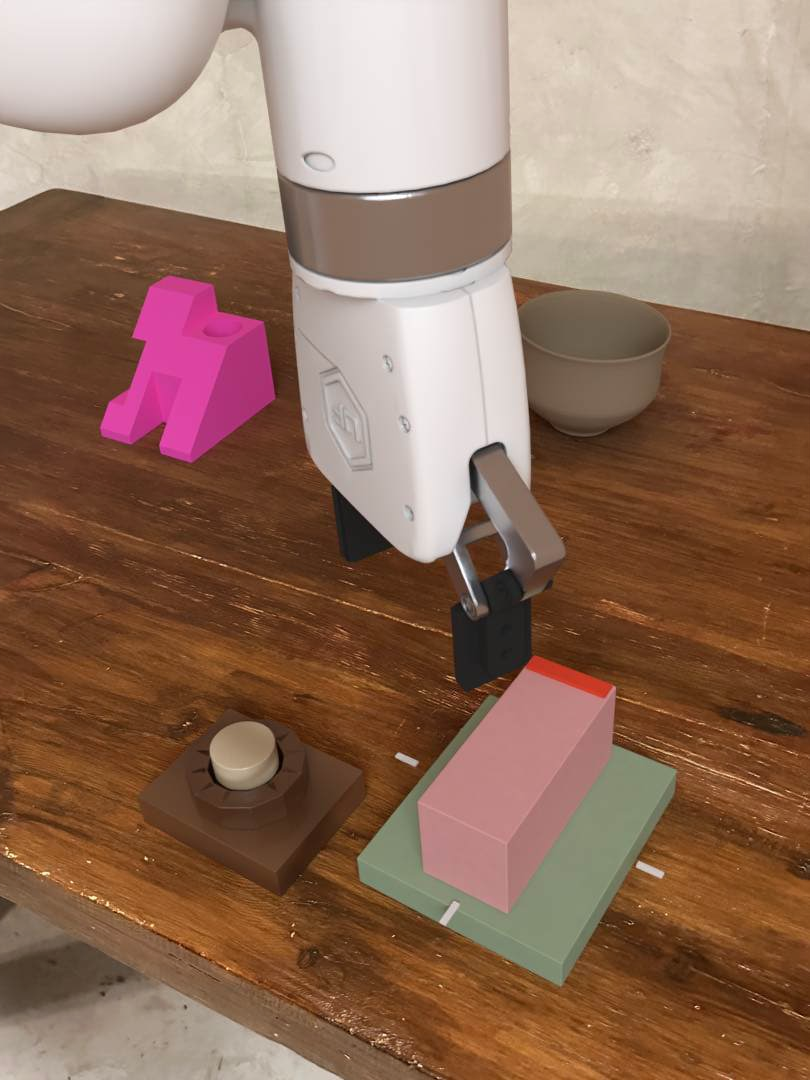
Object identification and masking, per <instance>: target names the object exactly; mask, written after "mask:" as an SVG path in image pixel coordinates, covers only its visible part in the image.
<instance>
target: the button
mask: <svg viewBox="0 0 810 1080" xmlns="http://www.w3.org/2000/svg"><path fill="white" fill-rule="evenodd" d="M210 757H211V761H212V765H213V769H214V773H215V777H216V779H217V780H218V781H219V783H220V784H222V785H223V786H224V787H226V788H228V789H231V790H236V791H247V790H252V789H255V788H258V787H260V786H262V785H264V784H266V783H267V782H268V781H269V780H270V779H272V777H273V776H274V775H275V773H276V771H277V769H278V766H279V757H278V752H277V747H276V741H275V737H274V734H273V733H272V731H271V730H270V729H269V728H268V727H267V726H265V725H263V724H261V723H258V722H252V721H243V722H237V723H234V724H231V725H229V726H227V727H225V728H223V729H222V730H220V731H219V732H218V733H217V734H216V735H215V737H214V738H213V740H212V742H211V744H210Z"/></svg>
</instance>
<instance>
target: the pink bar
mask: <svg viewBox="0 0 810 1080" xmlns="http://www.w3.org/2000/svg"><path fill="white" fill-rule="evenodd" d="M616 692H617V686H615V685H613V684H612V683H610V682H607V681H604V680H602V679H599V678H596V677H594V676H592V675H588V674H586V673H583V672H580V671H578V670H575V669H572V668H571V667H568V666H566V665H565V666H564V665H562V664H559V663H557V662H554V661H551V660H549V659H546V658H543V657H542V656H541V657H540V656H538V655H536V654H534V655H532V657H531V659H530V661H529V662H528V663H527V664H526V665H524V666H523V668H522V670H521V671H520V672H519V673H518V675H517V676H516V677H515V679H514V680H513V681H512V682H511V683H510V685H509V686H508V687H507V689H506V690H505V691H504V692H503V693H502V695H501V696H500V697H499V698H500V699H499V700H498V701H497V702H496V704H495V705H494V706H493V707H492V709H491V710H490V711H489V712H488V714H487V715H486V716H485V717H484V719H483V720H482V721H481V722H480V724H479V725H478V726H477V727H476V729H475V730H474V731H473V732H472V734H471V735H470V736H469V737H468V739H467V740H466V741H465V742H464V744H463V745H462V746H461V747H460V749H459V750H458V751H457V752H456V754H455V755H454V756H453V757H452V759H451V760H450V761H449V762H448V764H447V765H446V766H445V767H444V769H443V770H442V771H441V772H440V774H439V775H438V776H437V777H436V779H435V780H434V781H433V782H432V784H431V785H430V786H429V787H428V789H427V790H426V791H425V792H424V794H423V795H422V796H421V797H420V799H419V800H418V802H417V804H418V816H419V827H420V839H421V851H422V863H423V871H424V872H425V873H427V874H429V875H431V876H433V877H435V878H437V879H439V880H441V881H443V882H445V883H447V884H449V885H451V886H453V887H455V888H457V889H459V890H461V891H463V892H465V893H467V894H469V895H471V896H472V897H474V898H476V899H478V900H480V901H482V902H484V903H486V904H488V905H490V906H492V907H494V908H496V909H498V910H500V911H502V912H504V913H506V914H508V913H509V911H510V910H511V908H512V907H513V905H514V904H515V902H516V901H517V899H518V898H519V896H520V895H521V893H522V892H523V890H524V889H525V887H526V886H527V884H528V883H529V881H530V880H531V878H532V876H533V875H534V873H535V872H536V870H537V869H538V867H539V866H540V864H541V863H542V861H543V860H544V858H545V857H546V855H547V854H548V852H549V851H550V849H551V848H552V846H553V845H554V843H555V842H556V840H557V839H558V837H559V836H560V834H561V832H562V831H563V829H564V828H565V826H566V825H567V823H568V822H569V820H570V819H571V817H572V816H573V814H574V813H575V811H576V810H577V808H578V807H579V805H580V804H581V802H582V801H583V799H584V798H585V796H586V795H587V793H588V792H589V790H590V788H591V787H592V785H593V784H594V782H595V781H596V779H597V778H598V776H599V775H600V773H601V772H602V770H603V769H604V767H605V766H606V764H607V763H608V761H609V760H610V758H611V754H612V744H613V740H614V739H613V737H614V725H615V724H614V723H615V707H616V694H617V693H616Z"/></svg>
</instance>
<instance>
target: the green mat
mask: <svg viewBox="0 0 810 1080" xmlns="http://www.w3.org/2000/svg"><path fill="white" fill-rule="evenodd" d="M499 699H500V697H497V696H496V695H493V694H489V695H488V696H487V697H486V698H485V699H484V701H483V702H482V703H481V704H480V706H479V707H478V708H477V709H476V710H475V712H474V713H473V714H472V715H471V717H470V718H469V719H468V721H467V722H466V723H465V724H464V725H463V727H461V728H460V730H459V731H458V733H457V734H456V735H455V736H454V737H453V739H452V740H451V741H450V742H449V744H448V745H447V747H446V748H444V750H443V751H442V752H441V754H440V755H439V756H438V757H437V758H436V760H434V762H433V763H432V765H431V766H430V767H429V768H428V770H426V772H425V773H424V774H423V776H422V777H421V778H420V780H419V781H418V782H417V784H416V785H415V786H414V787H413V788H412V789H411V790H410V792H409V793H408V794H407V795H406V796H405V798H404V800H402V802H401V803H400V804H399V805H398V806H397V808H396V809H395V810H394V812H392V814H391V815H390V817H388V819H387V820H386V821H385V823H383V825H382V826H381V827H380V829H379V830H378V831H377V832H376V833H375V835H374V836H373V837H372V838H371V840H370V841H369V842H368V844H366V846H365V847H364V849H363V850H361V852H360V853H359V855H358V856H357V857H356V863H357V870H358V876H359V881H360V883H363V884H364V885H366V886H368V887H369V888H372V889H374V890H376V891H378V892H380V893H381V894H383V895H386V896H387V897H389V898H390V899H393V900H395V901H397V902H398V903H400V904H402V905H404V906H406V907H408V908H410V909H412V910H413V911H416V912H417V913H419V914H421V915H423V916H425V917H427V918H429V919H431V920H433V921H434V922H436V923H439V924H441V925H442V926H444V927H446V928H448V929H450V930H452V931H453V932H456V933H458V934H459V935H461V936H463V937H465V938H467V939H469V940H470V941H472V942H475V943H476V944H478V945H480V946H481V947H484V948H486V949H487V950H489V951H492V952H494V953H495V954H497V955H499V956H501V957H503V958H504V959H507V960H508V961H510V962H512V963H515V964H516V965H518V966H519V967H522V968H523V969H526V970H528V971H529V972H532V973H533V974H535V975H537V976H539V977H540V978H543V979H544V980H547V981H548V982H550V983H552V984H554V985H556V986H558V987H560V988H562V987H563V985H564V983H565V981H566V980H567V978H568V977H569V975H570V973H571V971H572V970H573V969H574V966H575V964H576V963H577V961H578V960H579V958H580V956H581V955H582V953H583V951H584V950H585V947H586V946H587V944H588V943H589V941H590V939H591V937H592V935H594V932H595V930H596V929H597V927H598V925H599V923H600V922H601V920H602V918H603V917H604V915H605V913H606V912H607V910H608V908H609V907H610V905H611V903H612V901H613V899H614V898H615V896H616V895H617V893H618V891H619V889H620V888H621V886H622V884H623V883H624V882H625V879H626V878H627V876H628V874H629V873H630V870H631V869H632V867H633V865H634V864H635V862H636V861H637V859H638V857H639V855H640V853H641V852H642V850H643V848H644V847H645V845H646V843H647V841H648V840H649V838H650V837H651V836H652V835H651V834H652V833H653V831H654V830H655V828H656V825H657V824H658V823H659V821H660V820H661V817H662V816H663V814H664V813H665V811H666V809H667V808H668V805H669V804H670V802H671V801H672V799H673V797H674V795H675V790H676V783H677V776H678V775H677V774H678V770H677V768H673V767H671V766H668V765H666V764H664V763H661V762H658V761H656V760H653V759H651V758H649V757H646V756H644V755H641V754H638V753H636V752H633V751H631V750H629V749H626V748H624V747H621V746H619V745H617V744H614V743H612V754H611V758H610V760H609V761H608V763H607V764H606V766H605V767H604V769H603V770H602V772H601V773H600V775H599V776H598V778H597V779H596V781H595V782H594V784H593V785H592V787H591V788H590V790H589V792H588V793H587V795H586V796H585V798H584V799H583V801H582V802H581V804H580V805H579V807H578V808H577V810H576V811H575V813H574V814H573V816H572V817H571V819H570V820H569V822H568V823H567V825H566V826H565V828H564V829H563V831H562V832H561V834H560V836H559V837H558V839H557V840H556V842H555V843H554V845H553V846H552V848H551V849H550V851H549V852H548V854H547V855H546V857H545V858H544V860H543V861H542V863H541V864H540V866H539V867H538V869H537V870H536V872H535V873H534V875H533V876H532V878H531V880H530V881H529V883H528V884H527V886H526V887H525V889H524V890H523V892H522V893H521V895H520V896H519V898H518V899H517V901H516V902H515V904H514V905H513V907H512V908H511V910H510V911H509V913H508V914H506V913H504V912H502V911H500V910H498V909H496V908H494V907H492V906H490V905H488V904H486V903H484V902H482V901H480V900H478V899H476V898H474V897H472V896H471V895H469V894H467V893H465V892H463V891H461V890H459V889H457V888H455V887H453V886H451V885H449V884H447V883H445V882H443V881H441V880H439V879H437V878H435V877H433V876H431V875H429V874H427V873H425V872H424V871H423V863H422V851H421V839H420V827H419V816H418V804H417V802H418V800H419V799H420V797H421V796H422V795H423V794H424V792H425V791H426V790H427V789H428V787H429V786H430V785H431V784H432V782H433V781H434V780H435V779H436V777H437V776H438V775H439V774H440V772H441V771H442V770H443V769H444V767H445V766H446V765H447V764H448V762H449V761H450V760H451V759H452V757H453V756H454V755H455V754H456V752H457V751H458V750H459V749H460V747H461V746H462V745H463V744H464V742H465V741H466V740H467V739H468V737H469V736H470V735H471V734H472V732H473V731H474V730H475V729H476V727H477V726H478V725H479V724H480V722H481V721H482V720H483V719H484V717H485V716H486V715H487V714H488V712H489V711H490V710H491V709H492V707H493V706H494V705H495V704H496V702H497V701H498V700H499ZM394 758H395V759H397V760H399V761H401V762H403V763H406V764H408V765H409V766H412V767H414V768H416V767H417V766H418V765H419V763H420V761H419V760H418V759H414V758H412V757H410V756H408V755H405V754H404V753H402V752H397V753H396V754H395V755H394ZM635 868H636V869H639V870H641V871H643V872H645V873H647V874H649V875H651V876H654V877H656V878H658V879H661V880H662V879H663V877H664V876H665V871H663V870H660V869H658V868H656V867H654V866H651V865H650V864H647V863H645V862H643V861H640V860H638V861H637V863H636V865H635Z"/></svg>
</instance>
